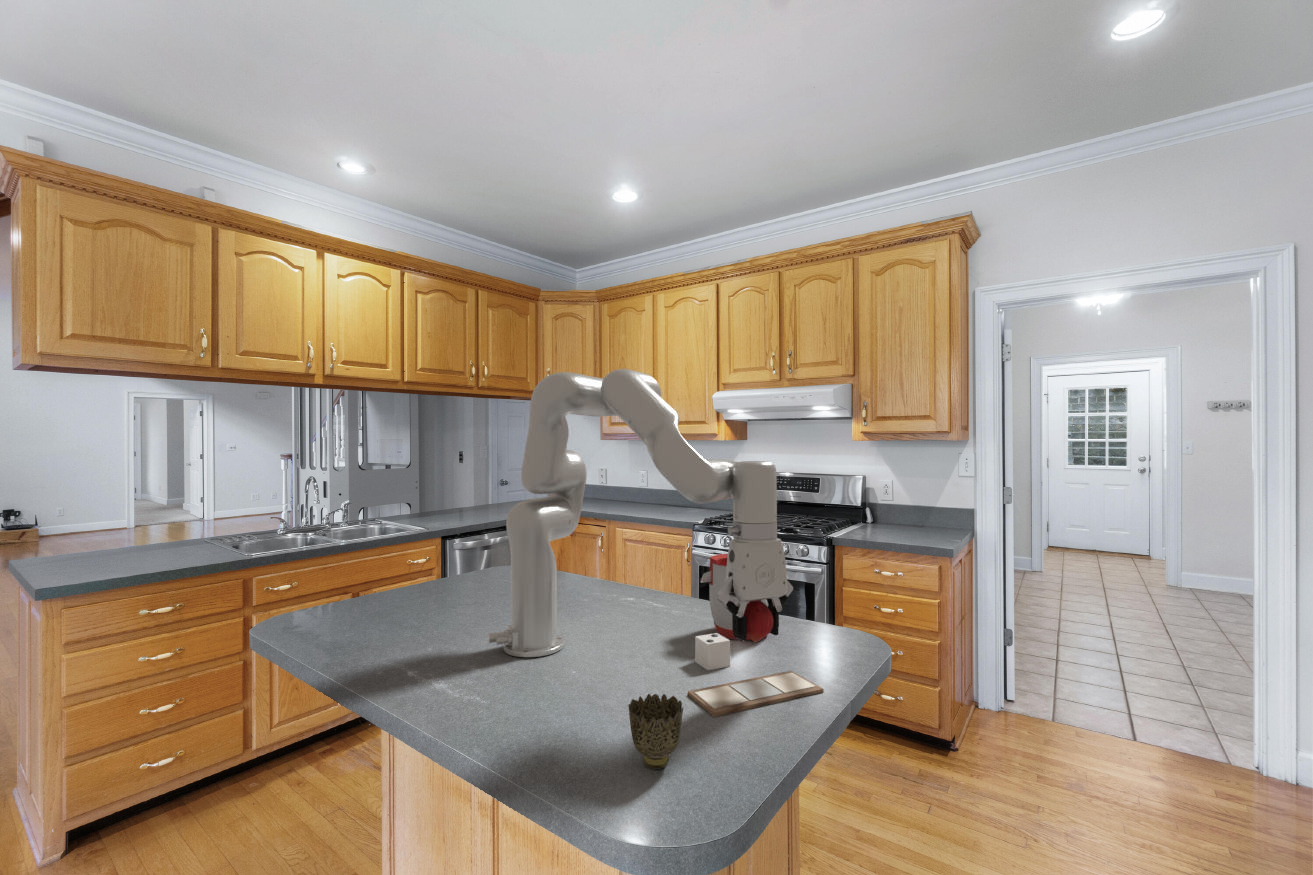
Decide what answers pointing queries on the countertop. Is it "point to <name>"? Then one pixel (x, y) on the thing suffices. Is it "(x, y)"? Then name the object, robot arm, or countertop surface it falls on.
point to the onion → (758, 620)
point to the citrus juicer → (716, 581)
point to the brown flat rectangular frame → (753, 692)
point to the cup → (655, 728)
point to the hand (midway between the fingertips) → (756, 634)
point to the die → (712, 651)
